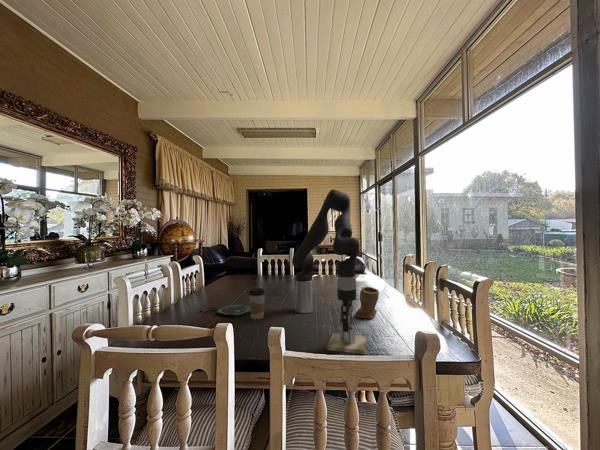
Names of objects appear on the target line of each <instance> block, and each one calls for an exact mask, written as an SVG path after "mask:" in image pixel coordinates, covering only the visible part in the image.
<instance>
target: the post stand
mask: <svg viewBox="0 0 600 450" xmlns="http://www.w3.org/2000/svg"><path fill="white" fill-rule="evenodd" d="M344 319H346V317H344ZM350 326H351V325H350V318H349V330H350ZM367 342H368V336H366V335H359V334H358V335H357V334H355V343H352V344H344V343H342V342H340V332H338V333H337V332H333V334H332V336H331V337H330V339H329V341H328V343H327V344H326V351H334V352H341V353H350V354H351V353H352V354H358V355H359V354H360V355H364V354H365V352H366V346H367Z"/></svg>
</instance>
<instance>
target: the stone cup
mask: <svg viewBox="0 0 600 450" xmlns="http://www.w3.org/2000/svg"><path fill="white" fill-rule="evenodd" d="M379 295H380V293H379V290H378V289H376V288H374V287H371V286H365V287H362V288H361V289H360V293H359V302H360V307H359V308H358V309H357V310H356V312H355V317H357V318H360V319H361V318H362V319H373V318H374V317H375V316H376V314H377V312H378V310H377V309H376V305H377V303H378V300H379Z"/></svg>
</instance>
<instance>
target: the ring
mask: <svg viewBox="0 0 600 450" xmlns="http://www.w3.org/2000/svg"><path fill="white" fill-rule="evenodd" d="M339 334H340V342H342V343H344V344H352V343H355V335H356V327H354V326H352V325H350V330H349V331H348V332H343V325H340V327H339Z"/></svg>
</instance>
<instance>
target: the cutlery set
mask: <svg viewBox="0 0 600 450" xmlns="http://www.w3.org/2000/svg"><path fill="white" fill-rule="evenodd" d="M238 306H245V307H247V310H246V311H245V312H242V313H233V314H232V315H231V316H236V317H240V316H239V315H241V316H242V315H246V314H249V313H251V312H250V305H247V304H233V305H232V304H231V305H226V306H225V307H224V306H223V307H224V308H228V307H238ZM224 308H222V307H221V309H219V308H218V309H219V310H217V311H216V312H217V313H216V314H219V315H222V316H230V315H229V314H227V313H226V314H225V313H223V312H222V309H224ZM236 311H237V312H240V310H235V312H236ZM222 313H223V314H222Z"/></svg>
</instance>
